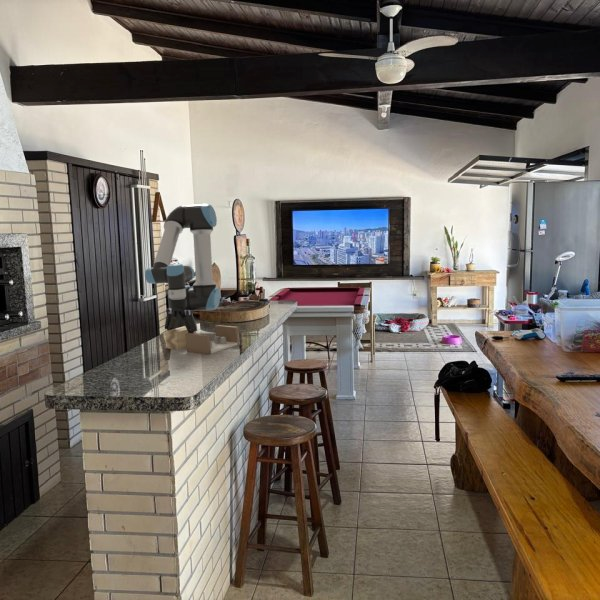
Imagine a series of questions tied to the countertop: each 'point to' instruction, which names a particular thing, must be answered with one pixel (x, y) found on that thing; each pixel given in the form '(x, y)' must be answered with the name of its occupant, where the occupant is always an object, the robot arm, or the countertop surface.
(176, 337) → the shelf block
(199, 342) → the peg stand
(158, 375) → the countertop surface
